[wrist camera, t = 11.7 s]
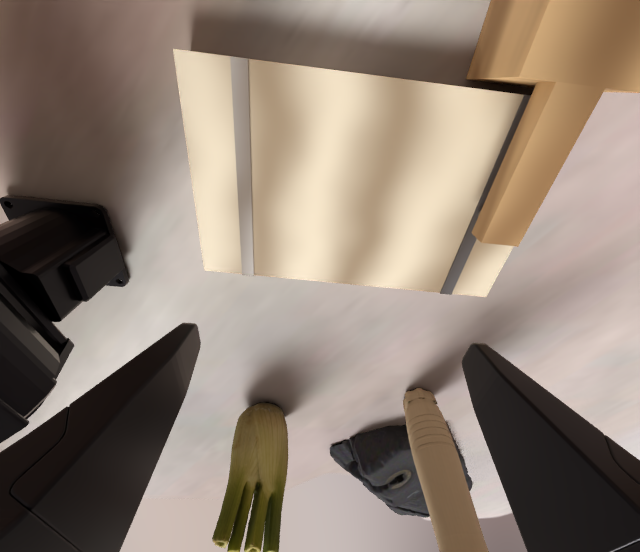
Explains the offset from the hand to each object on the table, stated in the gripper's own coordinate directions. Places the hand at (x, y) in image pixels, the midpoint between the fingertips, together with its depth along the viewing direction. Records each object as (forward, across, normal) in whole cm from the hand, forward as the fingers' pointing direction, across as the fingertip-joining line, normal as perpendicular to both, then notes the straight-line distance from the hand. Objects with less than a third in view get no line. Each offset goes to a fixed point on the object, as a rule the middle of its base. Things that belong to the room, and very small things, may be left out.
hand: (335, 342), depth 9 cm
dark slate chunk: (+12, -15, +36) cm, 41 cm away
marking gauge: (+12, -9, -6) cm, 16 cm away
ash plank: (+12, -2, -2) cm, 12 cm away
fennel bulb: (+12, +4, +24) cm, 28 cm away
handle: (+12, -12, +20) cm, 26 cm away
